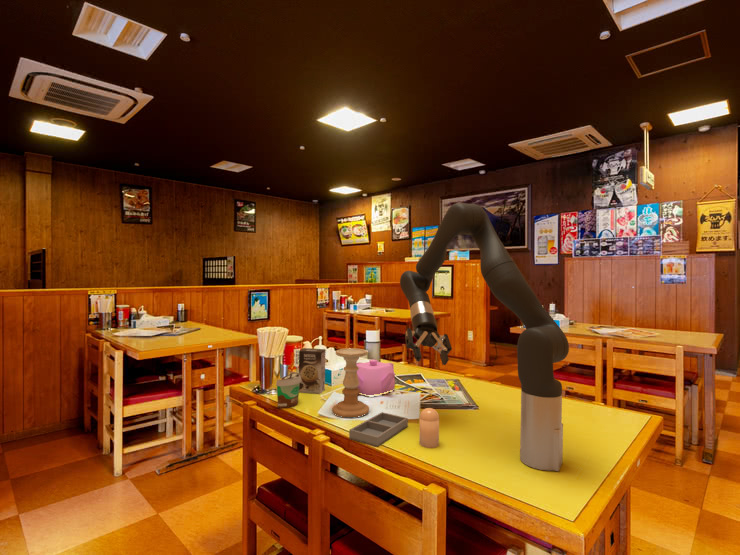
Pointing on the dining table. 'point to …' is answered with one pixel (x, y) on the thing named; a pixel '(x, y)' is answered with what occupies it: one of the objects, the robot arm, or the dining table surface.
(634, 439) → the dining table surface
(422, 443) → the peach domed shaker
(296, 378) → the food container
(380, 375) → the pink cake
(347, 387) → the candle holder
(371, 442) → the divided tray
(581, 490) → the dining table surface
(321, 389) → the coffee box
